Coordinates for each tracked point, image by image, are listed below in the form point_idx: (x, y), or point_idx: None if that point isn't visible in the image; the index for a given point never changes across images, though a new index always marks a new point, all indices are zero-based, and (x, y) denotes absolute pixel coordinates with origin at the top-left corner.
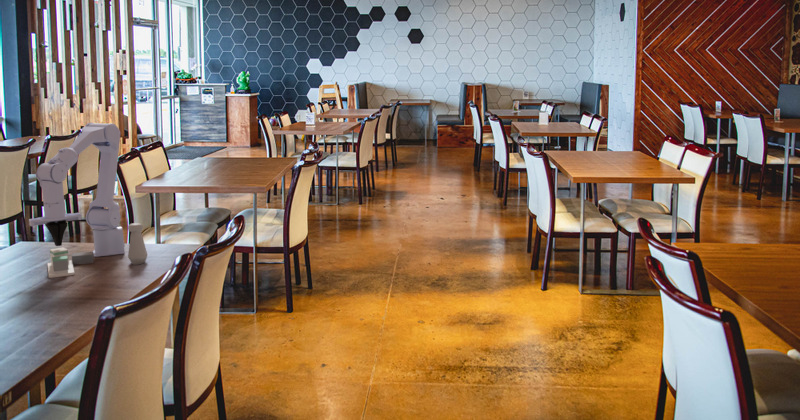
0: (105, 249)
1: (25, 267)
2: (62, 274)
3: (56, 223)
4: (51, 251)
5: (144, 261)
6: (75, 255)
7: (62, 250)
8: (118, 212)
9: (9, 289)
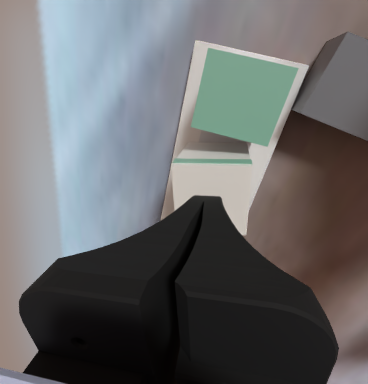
0: None
1: (109, 9)
2: None
3: (179, 380)
4: (174, 188)
5: None
6: (323, 108)
7: None
8: None
9: (68, 246)
